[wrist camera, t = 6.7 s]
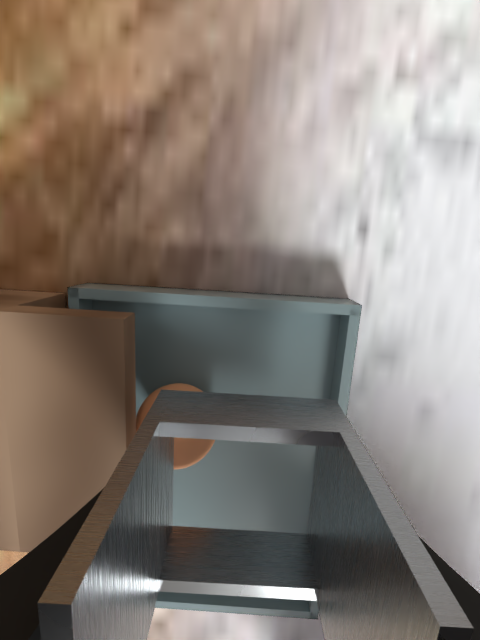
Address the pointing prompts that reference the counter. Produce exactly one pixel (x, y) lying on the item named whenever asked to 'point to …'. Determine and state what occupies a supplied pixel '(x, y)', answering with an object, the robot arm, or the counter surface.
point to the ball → (184, 448)
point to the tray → (238, 378)
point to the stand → (59, 410)
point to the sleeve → (250, 535)
